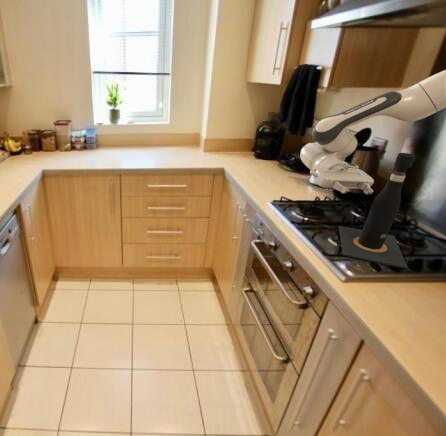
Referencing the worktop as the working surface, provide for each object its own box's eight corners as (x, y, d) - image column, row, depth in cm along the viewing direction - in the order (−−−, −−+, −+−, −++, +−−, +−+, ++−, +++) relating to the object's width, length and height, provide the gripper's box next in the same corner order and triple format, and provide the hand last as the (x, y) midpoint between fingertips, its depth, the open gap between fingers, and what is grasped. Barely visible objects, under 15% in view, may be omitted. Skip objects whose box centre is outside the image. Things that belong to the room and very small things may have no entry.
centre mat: (393, 237, 108) (394, 235, 107) (407, 269, 92) (408, 267, 92) (338, 227, 114) (339, 225, 114) (342, 255, 99) (343, 253, 99)
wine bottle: (361, 236, 107) (395, 150, 93) (384, 244, 103) (423, 154, 89) (355, 243, 103) (390, 154, 89) (378, 251, 99) (419, 159, 85)
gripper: (311, 162, 113) (337, 183, 102) (360, 164, 116) (389, 185, 106) (303, 177, 117) (326, 199, 106) (350, 179, 120) (377, 200, 110)
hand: (358, 192), depth 106 cm, fingers open, 8 cm apart
